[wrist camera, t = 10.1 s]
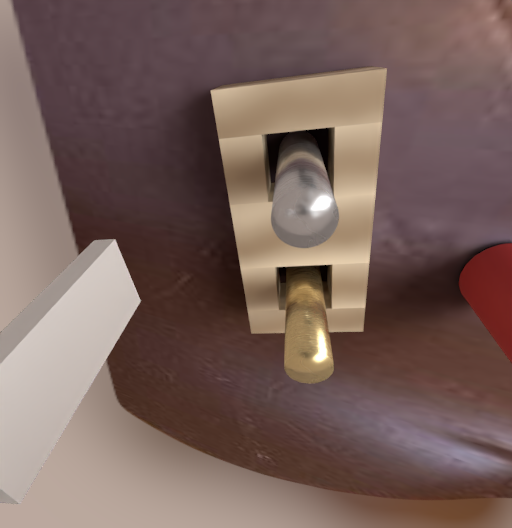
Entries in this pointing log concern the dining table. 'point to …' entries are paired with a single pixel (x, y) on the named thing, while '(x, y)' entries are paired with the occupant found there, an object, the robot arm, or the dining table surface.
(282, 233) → the steel pin
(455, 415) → the dining table surface
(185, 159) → the dining table surface
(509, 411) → the dining table surface
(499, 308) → the beer can
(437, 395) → the dining table surface
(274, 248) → the pin block
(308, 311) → the brass pin
